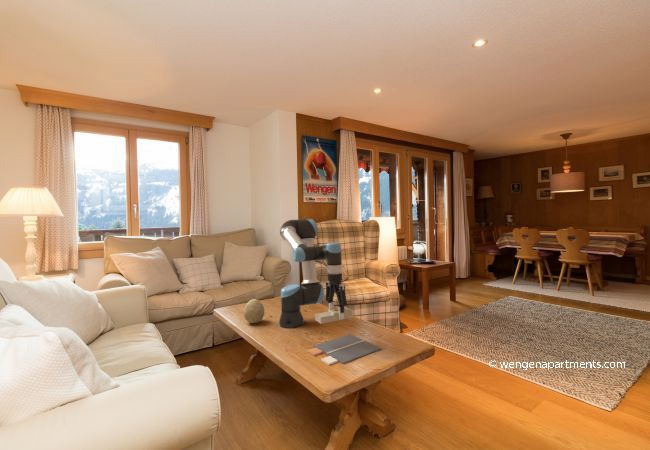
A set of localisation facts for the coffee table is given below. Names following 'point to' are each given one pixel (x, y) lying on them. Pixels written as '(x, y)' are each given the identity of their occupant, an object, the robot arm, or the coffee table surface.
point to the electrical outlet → (332, 315)
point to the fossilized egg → (254, 311)
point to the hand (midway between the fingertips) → (336, 316)
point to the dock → (343, 349)
